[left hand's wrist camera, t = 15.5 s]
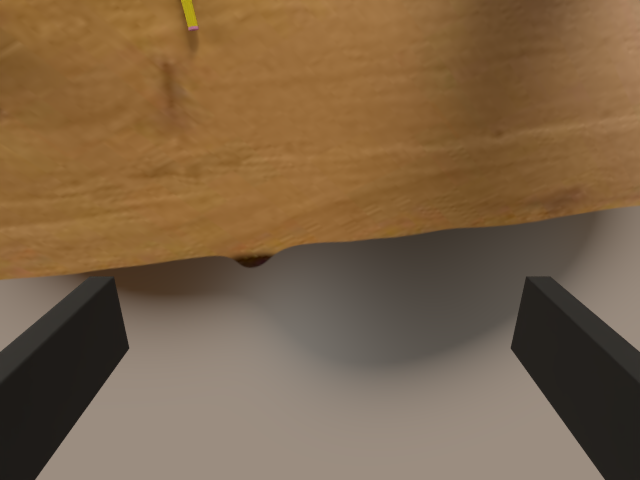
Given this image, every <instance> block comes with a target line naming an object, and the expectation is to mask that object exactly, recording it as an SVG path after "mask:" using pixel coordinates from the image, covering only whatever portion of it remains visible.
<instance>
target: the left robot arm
mask: <svg viewBox="0 0 640 480" xmlns="http://www.w3.org/2000/svg"><path fill="white" fill-rule="evenodd" d="M128 349H129V345H128V340H127V336H126V331H125V326H124V322H123V317H122V312H121V308H120V303H119V298H118V294H117V289H116V285H115V280H114V277H89V278H88V279H86V280H85V281H84V282H83V283H82V284H80V285H79V286H78V287H77V288H76V289H74V290H73V291H72V292H71V293H70V294H69V295H67V296H66V297H65V298H64V299H63V300H61V301H60V302H59V303H58V304H57V305H55V306H54V307H53V308H52V309H51V310H50V311H48V312H47V313H46V314H45V315H44V316H42V317H41V318H40V319H39V320H38V321H37V322H35V323H34V324H33V325H32V326H31V327H29V328H28V329H27V330H26V331H25V332H23V333H22V334H21V335H20V336H19V337H18V338H16V339H15V340H14V341H13V342H12V343H10V344H9V345H8V346H7V347H6V348H4V349H3V350H2V351H1V352H0V480H35V479H36V478H37V476H38V475H39V473H40V472H41V471H42V469H43V468H44V466H45V465H46V464H47V462H48V461H49V459H50V458H51V457H52V455H53V454H54V452H55V451H56V450H57V448H58V447H59V446H60V444H61V443H62V441H63V440H64V439H65V437H66V436H67V434H68V433H69V432H70V430H71V429H72V427H73V426H74V425H75V423H76V422H77V420H78V419H79V418H80V416H81V415H82V413H83V412H84V411H85V409H86V408H87V407H88V405H89V404H90V402H91V401H92V400H93V398H94V397H95V395H96V394H97V393H98V391H99V390H100V388H101V387H102V386H103V384H104V383H105V381H106V380H107V379H108V377H109V376H110V374H111V373H112V372H113V370H114V369H115V367H116V366H117V365H118V363H119V362H120V360H121V359H122V358H123V356H124V355H125V354H126V352H127V351H128ZM511 349H512V351H513V352H514V353H515V355H516V356H517V358H518V359H519V361H520V362H521V363H522V365H523V366H524V367H525V369H526V370H527V372H528V373H529V374H530V376H531V377H532V379H533V380H534V381H535V383H536V384H537V386H538V387H539V388H540V390H541V391H542V393H543V394H544V395H545V397H546V398H547V400H548V401H549V402H550V404H551V405H552V406H553V408H554V409H555V411H556V412H557V413H558V415H559V416H560V418H561V419H562V420H563V422H564V423H565V425H566V426H567V427H568V429H569V430H570V431H571V433H572V434H573V436H574V437H575V439H576V440H577V441H578V443H579V444H580V446H581V447H582V448H583V450H584V451H585V452H586V454H587V455H588V457H589V458H590V459H591V461H592V462H593V464H594V465H595V466H596V468H597V469H598V471H599V472H600V473H601V475H602V476H603V477H604V479H605V480H640V352H639V351H638V350H637V349H635V348H634V347H633V346H632V345H631V344H630V343H628V342H627V341H626V340H625V339H624V338H622V337H621V336H620V335H619V334H618V333H616V332H615V331H614V330H613V329H612V328H611V327H609V326H608V325H607V324H606V323H605V322H604V321H602V320H601V319H600V318H599V317H598V316H596V315H595V314H594V313H593V312H592V311H590V310H589V309H588V308H587V307H586V306H585V305H583V304H582V303H581V302H580V301H579V300H577V299H576V298H575V297H574V296H573V295H571V294H570V293H569V292H568V291H567V290H566V289H564V288H563V287H562V286H561V285H560V284H558V283H557V282H556V281H555V280H554V279H552V278H551V277H526V280H525V285H524V289H523V294H522V298H521V303H520V308H519V312H518V317H517V322H516V326H515V331H514V335H513V340H512V345H511Z"/></svg>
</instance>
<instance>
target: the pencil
mask: <svg viewBox="0 0 640 480" xmlns="http://www.w3.org/2000/svg"><path fill="white" fill-rule="evenodd" d="M181 2H182V5H183V9H184V13H185V17H186V21H187V25H188V29H189V31H194V30H198V29H199V28H198V24H197V20H196V16H195V12H194V8H193V4H192V0H181Z"/></svg>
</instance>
